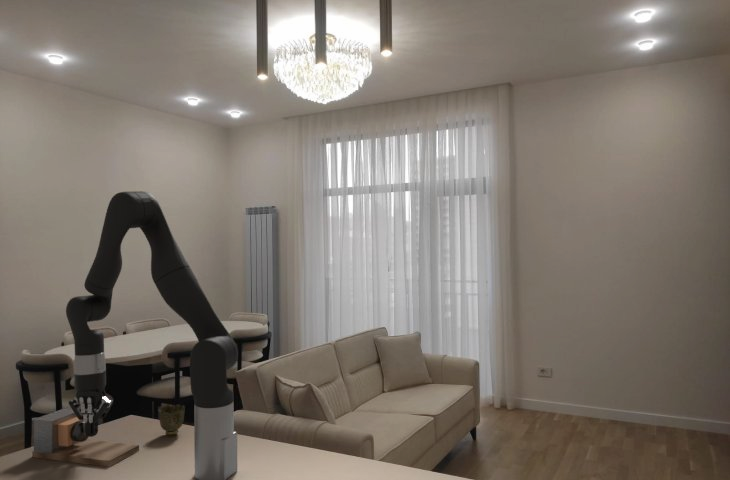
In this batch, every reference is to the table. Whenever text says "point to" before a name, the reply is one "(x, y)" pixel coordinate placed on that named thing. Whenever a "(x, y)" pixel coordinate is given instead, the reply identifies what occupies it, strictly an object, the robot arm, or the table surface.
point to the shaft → (78, 432)
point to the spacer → (66, 431)
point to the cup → (171, 418)
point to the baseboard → (92, 453)
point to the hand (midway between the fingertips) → (91, 435)
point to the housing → (50, 431)
